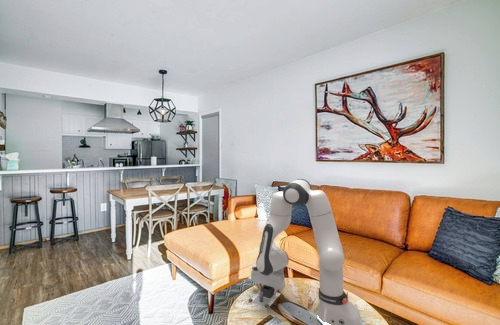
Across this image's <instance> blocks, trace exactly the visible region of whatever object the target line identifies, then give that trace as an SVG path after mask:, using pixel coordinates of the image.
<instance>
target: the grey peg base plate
mask: <svg viewBox="0 0 500 325" xmlns="http://www.w3.org/2000/svg"><path fill="white" fill-rule="evenodd" d="M281 294H282V293H281V292H280V293H279V292H278V291H276V295H273V296H272V297H271V298H270V299H269V298H266V297H263V292H262V291H260V290H258V292H256V294H254V295H253V296H252V298H251V297H250V298H249V299H248V301H247V302H248V303H250V304H252V305H256V306H257V307H261V308H264V309H266V310H267V309H269V308H270V307H271V306H272V305H273V303H275V301H276V300H277V298H279V297H280V295H281Z"/></svg>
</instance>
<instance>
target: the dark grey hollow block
mask: <svg viewBox="0 0 500 325" xmlns="http://www.w3.org/2000/svg"><path fill="white" fill-rule="evenodd" d="M274 290H275V289H274V288H273V287H270V286H267V285H262V288H261V291H262V292H263V297H266V298H269V299H270V298H271V297H272V296H273V291H274Z"/></svg>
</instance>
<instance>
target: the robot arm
mask: <svg viewBox="0 0 500 325" xmlns="http://www.w3.org/2000/svg"><path fill="white" fill-rule="evenodd" d="M293 206H299V207H300V206H301V207H304V206H306V208H307V212H308V216H309V220H310V223H311V226H312V231H313V234H314V235H313V236H314V240H315V244H316V250H317V253H318V257H319V258H318V259H319V261H318V263H319V264H318V265H319V270H318V271H319V272H318V273H319V279H318V280H319V281H318V282H319V288H318V291H317V292H318V307H317V311H316V315H318V316H319V318H320V319H321V320H322V321H323V322H327V323H329V324H331V325H367V323H366V320H365V318H364V317H363V316H361V313H360V310H359V308H358V307H357V306H356V305H354V304H353V303H352V302H351V301H350V300H349V293H348V291H347V292H345V291H344V269H343V265H344V262H345V254H344V250H343V245H342V242H341V239H340V236H339V231H338V227H337V223H336V220H335V216H334V214H333V213H334V212H333V209H332V206H331V203H330V201H329V198H328V196H327V194H326V192H325V191H323V190H321V189H314V190H313V189H312V186H311V183H310V181H308V180H307V179H304V178H297V179H295V180H293V181H290V182H289V183H288V184H286V185H285V187H283V190H281V191H276V192H274V193H273V195H272V198H271V202H270V210H269V217H268V221H267V223H266V225H265V226H264V228H263V232H262V237H261V241H260V243H259V247H258V248H259V249H258V254H257V258H256V260H255V264H253V265H252V266H251V272H250V280H251V281H252V282H254V283H257V286H258V288H259V291H261V288H262V287H263V286H264V285H267V286H270V287H273V288H274V289H275V290H274V291H273V295H276V292H278V291H277V289H280V290H281V291H283V289H284V288H285V286H286V282H285V274H283V273H282V272H279V271H277V270H279V269H281V268H284V269H285V268H286V267H287V266H288V265H289V259H290V258H289V255H288V253H287V252H286V251H285V249H281V248H280V247H279V246H277V245H276V243H275V241H274V240H275V239H276V238H277V237H278V236H279V234H281V233H282V232H284V231H285V230H286V229H287V228H288V227H289V226H290V224H291V221H292V207H293ZM280 290H279V291H280Z"/></svg>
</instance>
